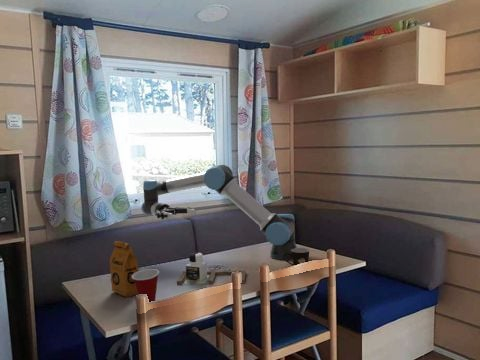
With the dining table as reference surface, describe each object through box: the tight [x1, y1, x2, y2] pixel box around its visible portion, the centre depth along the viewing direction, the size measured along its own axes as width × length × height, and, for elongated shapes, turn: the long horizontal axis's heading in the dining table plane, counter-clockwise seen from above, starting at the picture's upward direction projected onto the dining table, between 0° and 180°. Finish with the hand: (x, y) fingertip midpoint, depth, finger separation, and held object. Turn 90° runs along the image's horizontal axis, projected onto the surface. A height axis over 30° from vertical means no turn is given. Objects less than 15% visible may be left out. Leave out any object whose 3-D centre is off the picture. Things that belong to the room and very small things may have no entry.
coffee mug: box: [283, 247, 310, 266], centre depth 199 cm, size 12×9×10 cm
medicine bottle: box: [185, 251, 208, 282], centre depth 192 cm, size 7×7×12 cm
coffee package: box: [109, 240, 140, 298], centre depth 177 cm, size 10×12×22 cm
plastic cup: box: [132, 268, 160, 302], centre depth 166 cm, size 11×11×12 cm
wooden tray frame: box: [176, 269, 246, 286], centre depth 192 cm, size 30×14×2 cm, turn 87°
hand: (183, 214), depth 205 cm, fingers open, 13 cm apart
